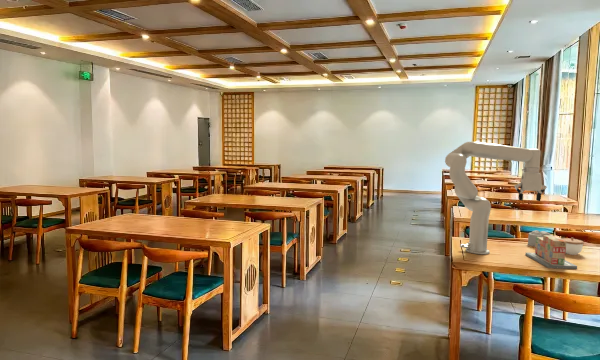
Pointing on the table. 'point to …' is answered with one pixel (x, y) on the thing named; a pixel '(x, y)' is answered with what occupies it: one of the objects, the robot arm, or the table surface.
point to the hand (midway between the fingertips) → (529, 200)
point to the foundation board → (544, 262)
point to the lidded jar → (573, 246)
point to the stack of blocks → (551, 249)
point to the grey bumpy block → (535, 234)
